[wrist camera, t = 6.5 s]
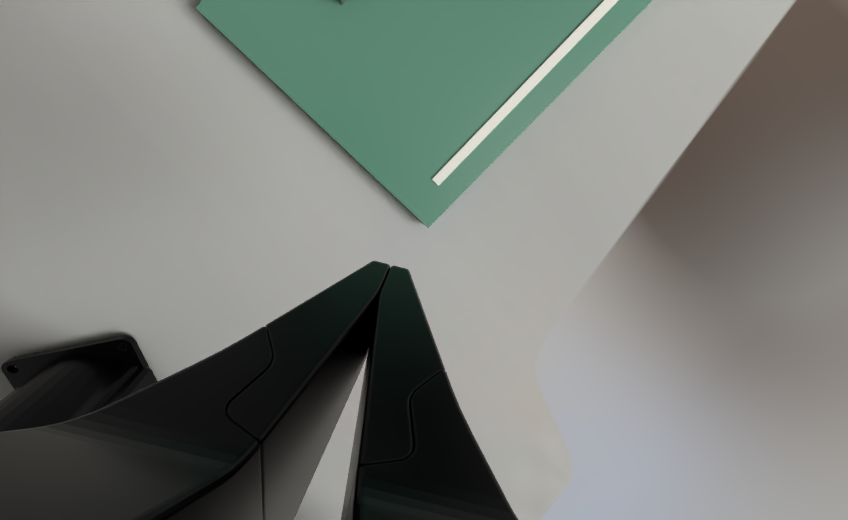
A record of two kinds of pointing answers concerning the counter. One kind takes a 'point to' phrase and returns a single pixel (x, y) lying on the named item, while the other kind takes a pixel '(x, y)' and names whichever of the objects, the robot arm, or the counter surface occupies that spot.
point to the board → (422, 76)
